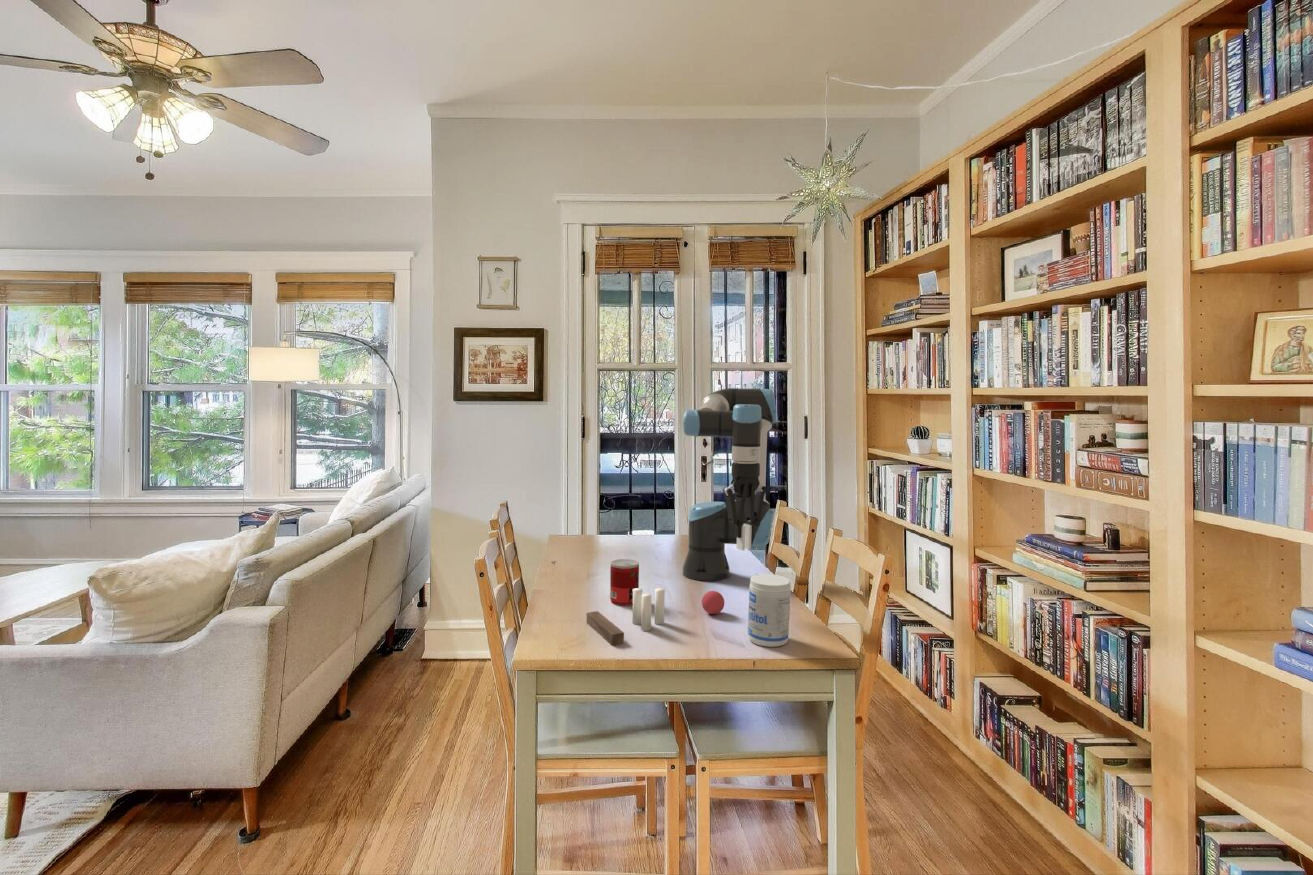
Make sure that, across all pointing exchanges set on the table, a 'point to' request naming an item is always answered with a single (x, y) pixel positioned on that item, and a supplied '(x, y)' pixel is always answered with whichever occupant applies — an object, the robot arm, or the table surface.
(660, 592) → the front pin
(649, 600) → the pin
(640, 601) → the pin
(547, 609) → the table surface
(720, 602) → the ball
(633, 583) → the canned food
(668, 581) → the table surface
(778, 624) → the supplement tub
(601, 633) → the brown wooden bar
